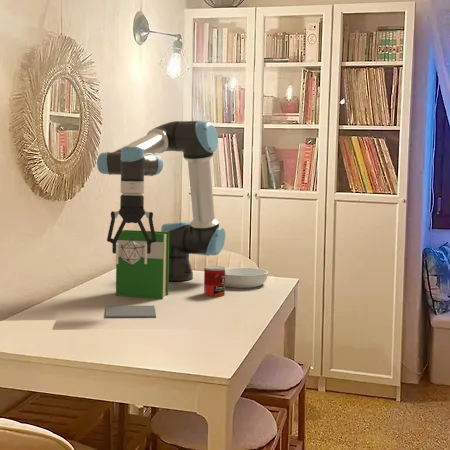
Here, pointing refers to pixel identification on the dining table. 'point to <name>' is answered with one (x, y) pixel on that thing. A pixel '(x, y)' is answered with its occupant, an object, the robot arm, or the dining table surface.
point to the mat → (130, 312)
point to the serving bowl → (244, 277)
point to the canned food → (214, 281)
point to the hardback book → (144, 267)
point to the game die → (131, 252)
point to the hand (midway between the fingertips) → (131, 263)
